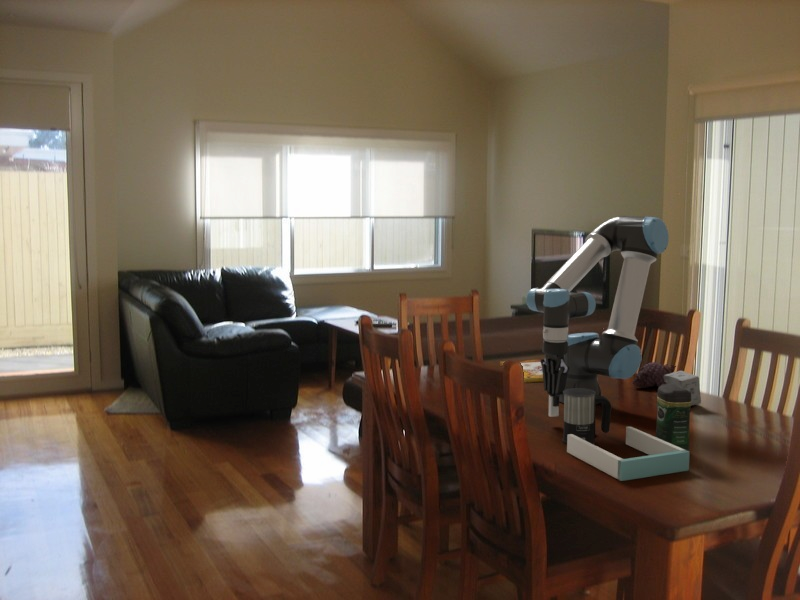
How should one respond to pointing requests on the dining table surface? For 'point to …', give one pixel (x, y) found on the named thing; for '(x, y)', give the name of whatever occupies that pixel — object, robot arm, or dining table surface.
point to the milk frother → (584, 413)
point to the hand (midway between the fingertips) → (553, 415)
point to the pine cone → (652, 375)
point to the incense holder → (686, 384)
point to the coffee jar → (673, 415)
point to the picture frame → (531, 370)
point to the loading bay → (656, 463)
